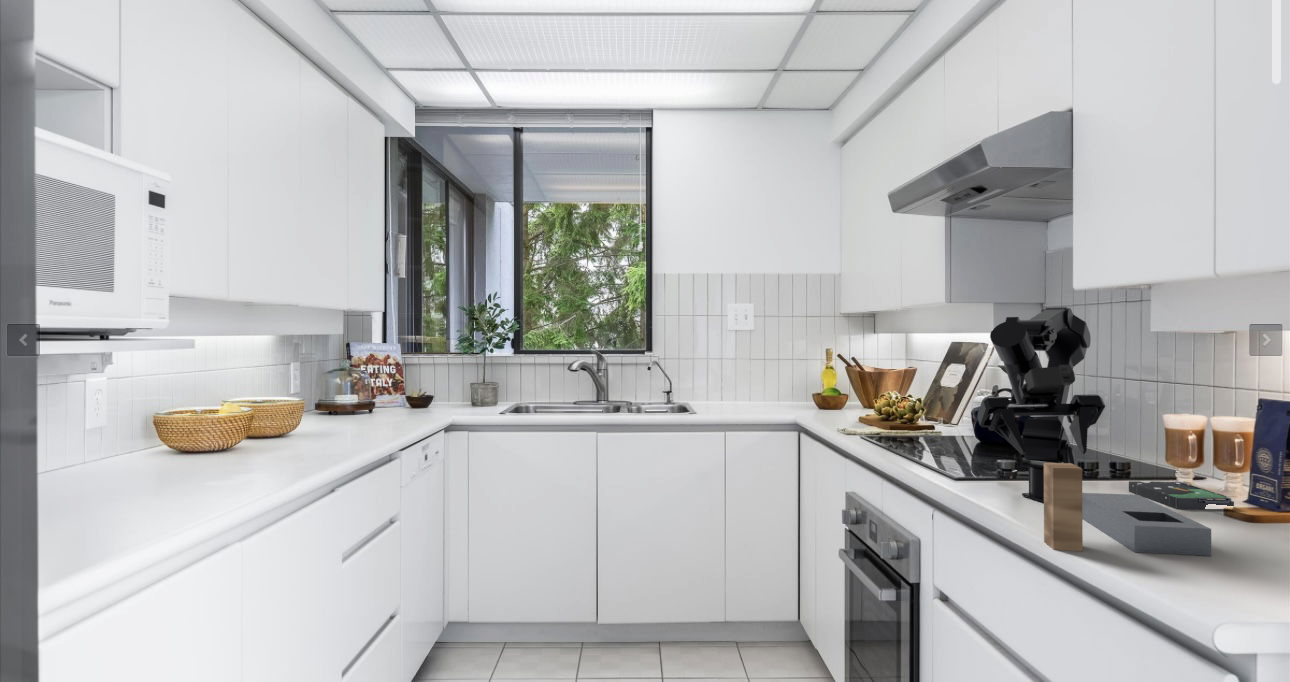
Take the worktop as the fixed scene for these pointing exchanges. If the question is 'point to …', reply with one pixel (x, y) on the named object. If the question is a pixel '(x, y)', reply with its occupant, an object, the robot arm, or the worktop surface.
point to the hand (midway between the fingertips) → (1053, 452)
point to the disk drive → (1178, 495)
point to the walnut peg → (1063, 506)
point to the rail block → (1145, 525)
